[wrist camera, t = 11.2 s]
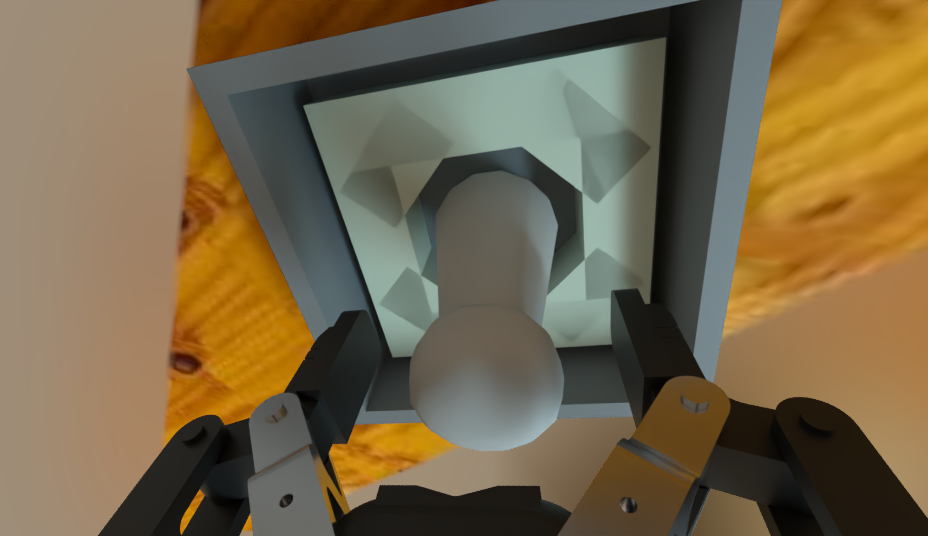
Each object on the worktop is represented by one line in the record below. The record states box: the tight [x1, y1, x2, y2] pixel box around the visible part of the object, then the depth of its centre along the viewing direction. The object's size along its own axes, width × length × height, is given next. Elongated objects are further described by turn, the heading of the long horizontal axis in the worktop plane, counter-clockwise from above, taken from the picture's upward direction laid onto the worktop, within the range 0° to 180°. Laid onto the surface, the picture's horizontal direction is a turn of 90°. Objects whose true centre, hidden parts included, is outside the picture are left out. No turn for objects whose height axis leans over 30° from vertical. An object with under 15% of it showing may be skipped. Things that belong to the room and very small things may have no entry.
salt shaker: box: [409, 170, 564, 451], centre depth 16 cm, size 6×6×13 cm
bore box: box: [187, 0, 782, 424], centre depth 19 cm, size 18×18×7 cm
